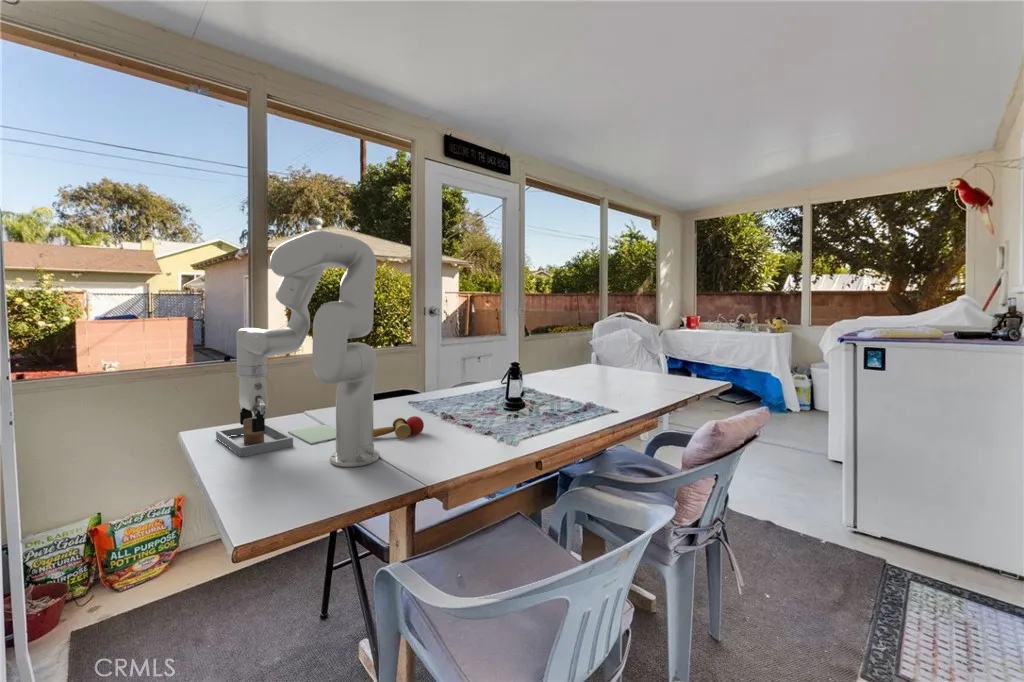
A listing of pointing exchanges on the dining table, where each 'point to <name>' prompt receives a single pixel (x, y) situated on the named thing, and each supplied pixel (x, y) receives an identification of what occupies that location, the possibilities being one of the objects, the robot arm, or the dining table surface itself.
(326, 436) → the pad
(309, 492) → the dining table surface
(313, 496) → the dining table surface
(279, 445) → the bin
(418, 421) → the kendama
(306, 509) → the dining table surface
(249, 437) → the brown wooden cylinder
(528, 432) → the dining table surface
